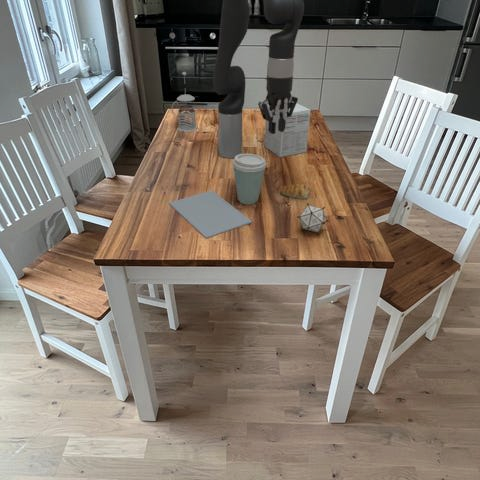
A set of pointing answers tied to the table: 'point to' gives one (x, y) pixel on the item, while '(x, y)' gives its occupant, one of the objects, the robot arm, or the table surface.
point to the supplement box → (290, 133)
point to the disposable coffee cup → (248, 176)
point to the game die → (312, 218)
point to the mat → (210, 213)
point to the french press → (186, 113)
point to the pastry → (295, 191)
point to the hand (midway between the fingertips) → (276, 131)
